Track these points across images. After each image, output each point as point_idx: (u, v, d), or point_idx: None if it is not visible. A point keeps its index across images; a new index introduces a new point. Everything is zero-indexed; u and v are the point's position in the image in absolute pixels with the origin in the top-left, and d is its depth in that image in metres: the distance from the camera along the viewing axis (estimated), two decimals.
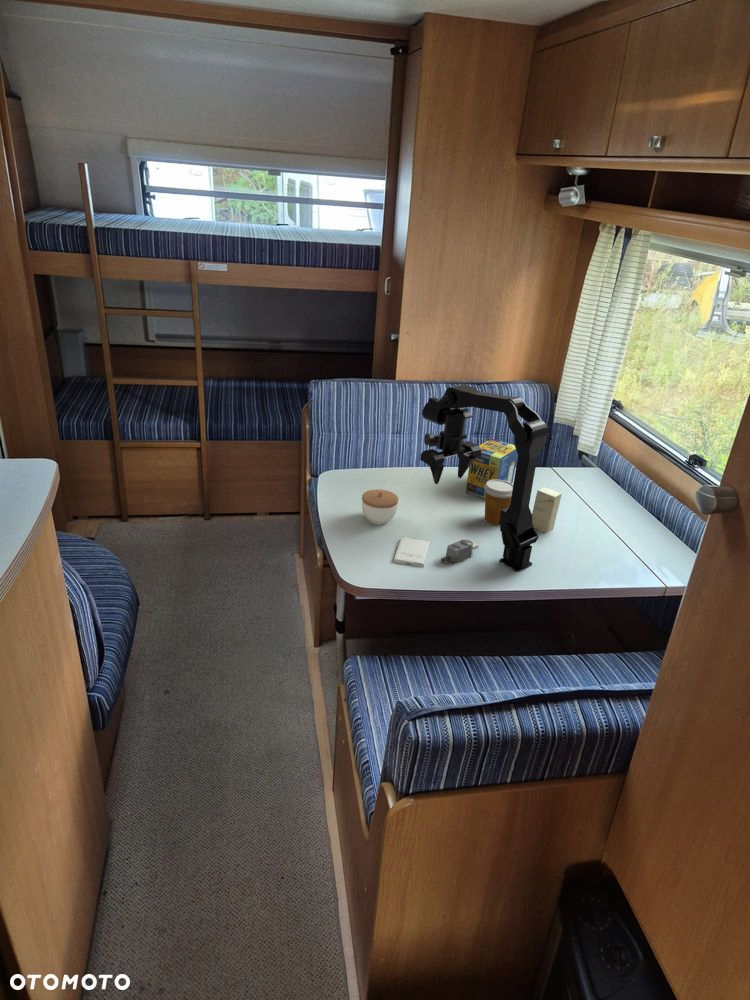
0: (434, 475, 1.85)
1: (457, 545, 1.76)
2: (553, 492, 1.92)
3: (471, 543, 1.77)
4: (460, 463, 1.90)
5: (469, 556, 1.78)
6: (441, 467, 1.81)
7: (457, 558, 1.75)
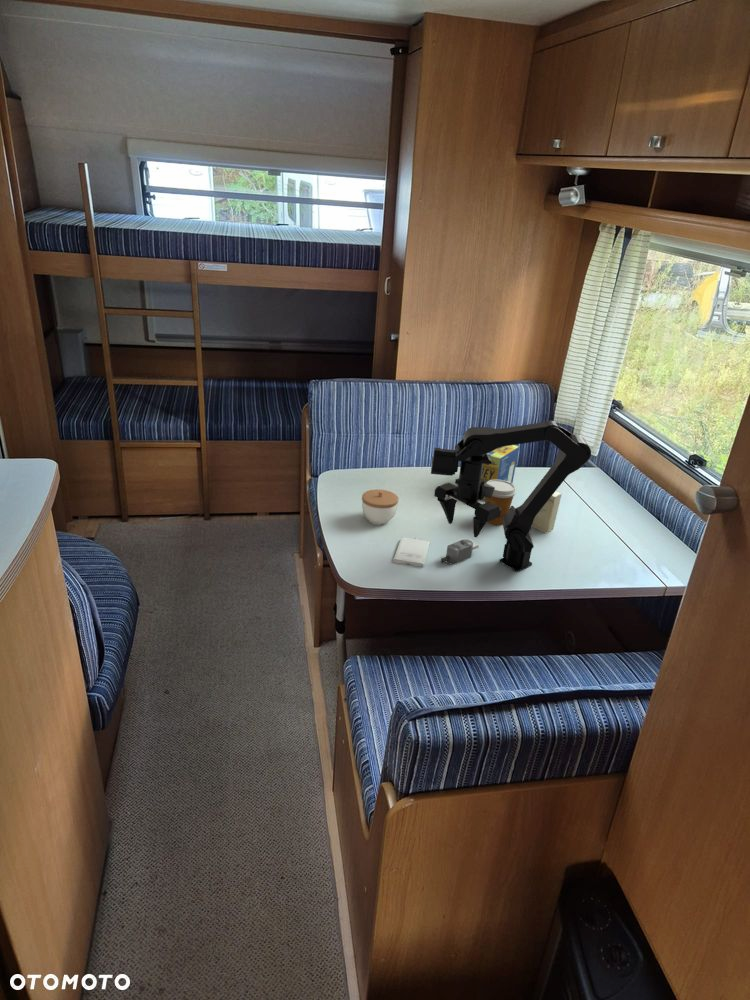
0: None
1: (457, 545, 1.76)
2: None
3: (471, 543, 1.77)
4: None
5: (469, 556, 1.78)
6: (441, 502, 1.74)
7: (457, 558, 1.75)
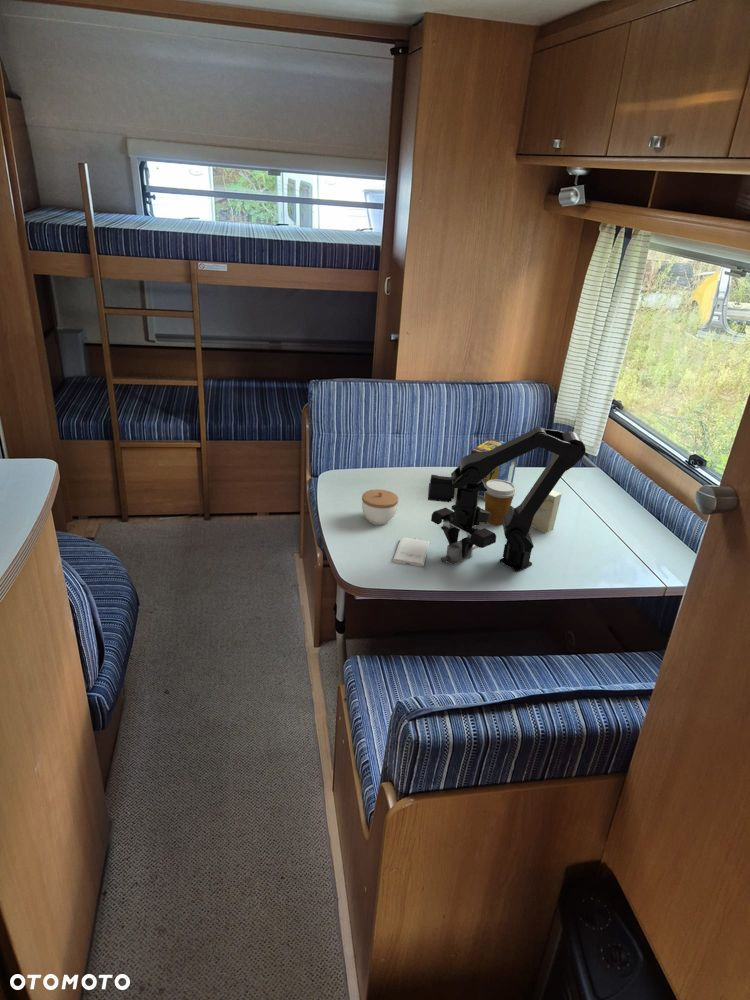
0: None
1: (457, 545, 1.76)
2: (553, 492, 1.92)
3: None
4: None
5: (469, 556, 1.78)
6: (445, 531, 1.75)
7: (457, 558, 1.75)
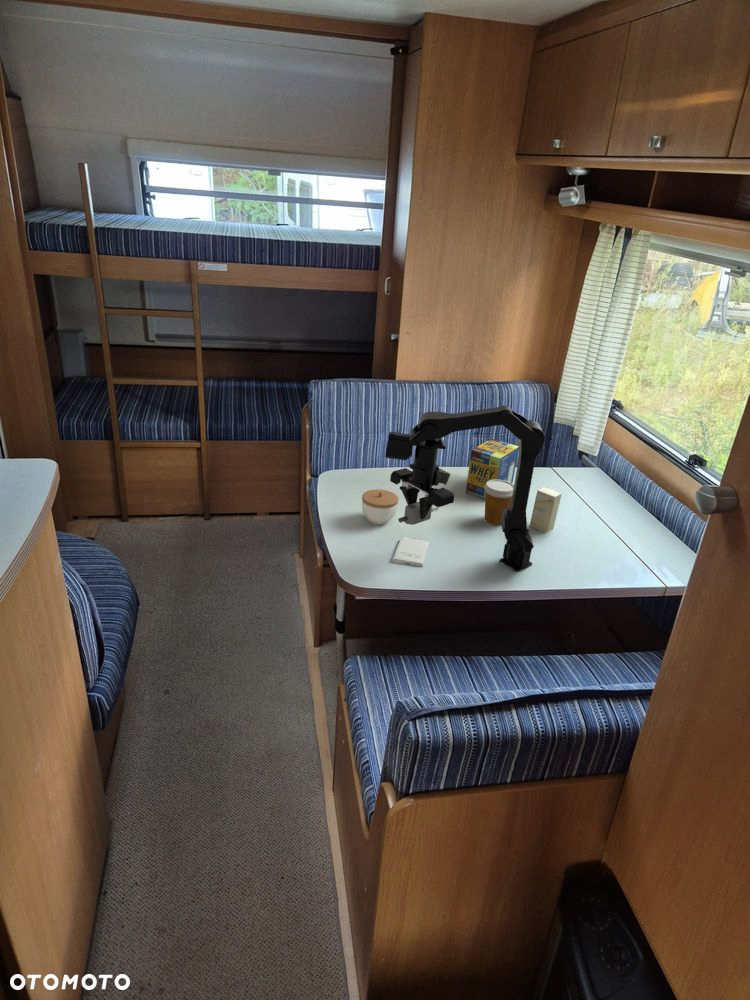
0: None
1: (416, 506, 1.72)
2: (553, 492, 1.92)
3: None
4: None
5: (427, 517, 1.74)
6: (403, 491, 1.71)
7: (415, 519, 1.71)
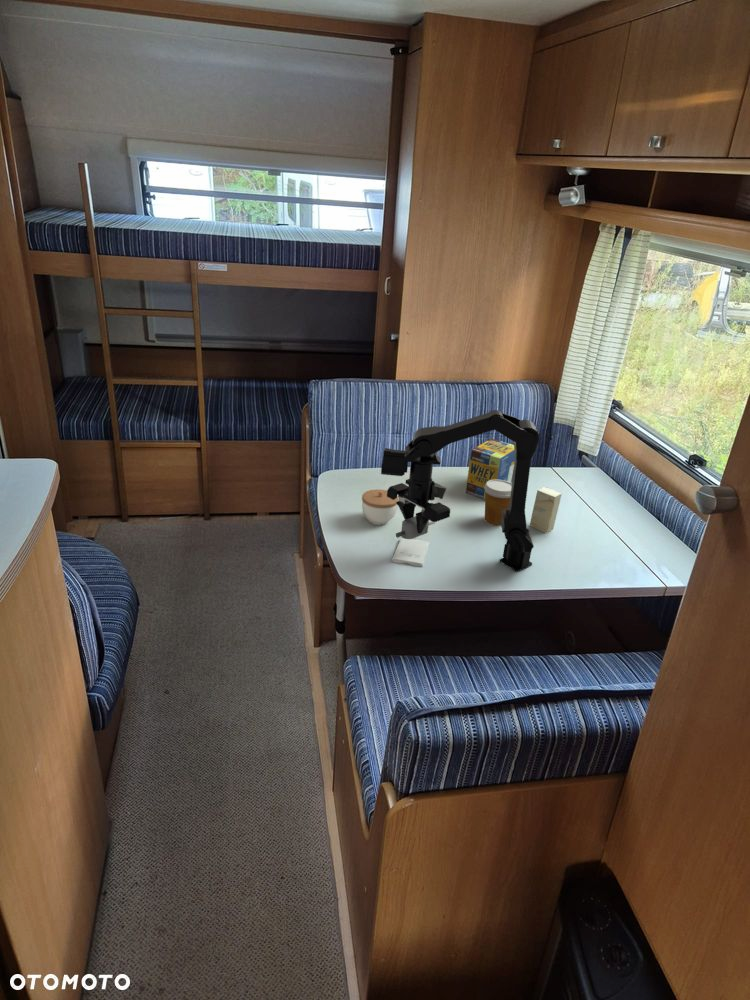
0: None
1: (413, 521, 1.74)
2: (553, 492, 1.92)
3: None
4: None
5: (425, 532, 1.76)
6: (400, 506, 1.73)
7: (413, 533, 1.72)
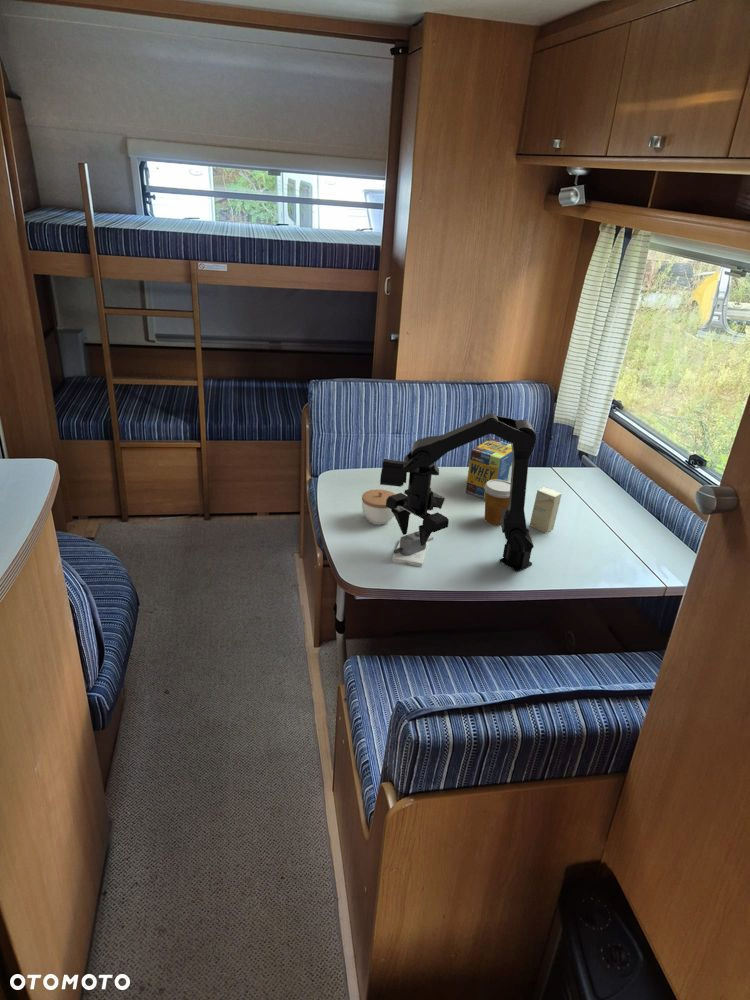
0: None
1: (411, 537, 1.76)
2: (553, 492, 1.92)
3: None
4: None
5: (423, 548, 1.78)
6: (395, 514, 1.75)
7: (410, 550, 1.75)
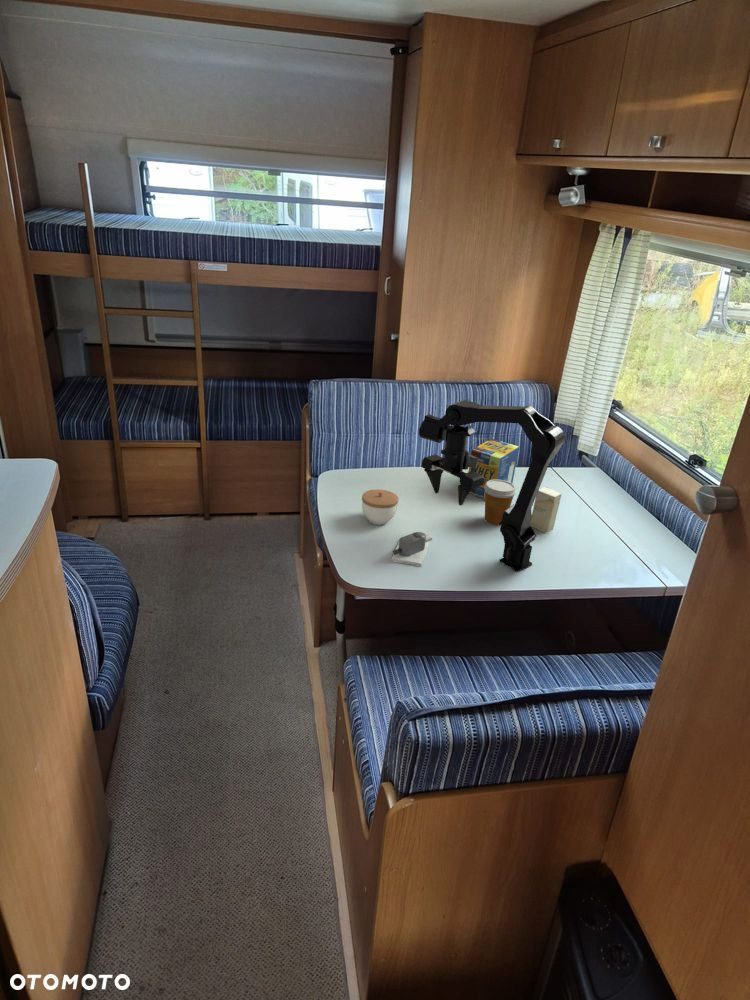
0: None
1: (410, 538, 1.76)
2: (553, 492, 1.92)
3: (424, 535, 1.77)
4: None
5: (421, 549, 1.78)
6: (428, 473, 1.83)
7: (409, 551, 1.75)
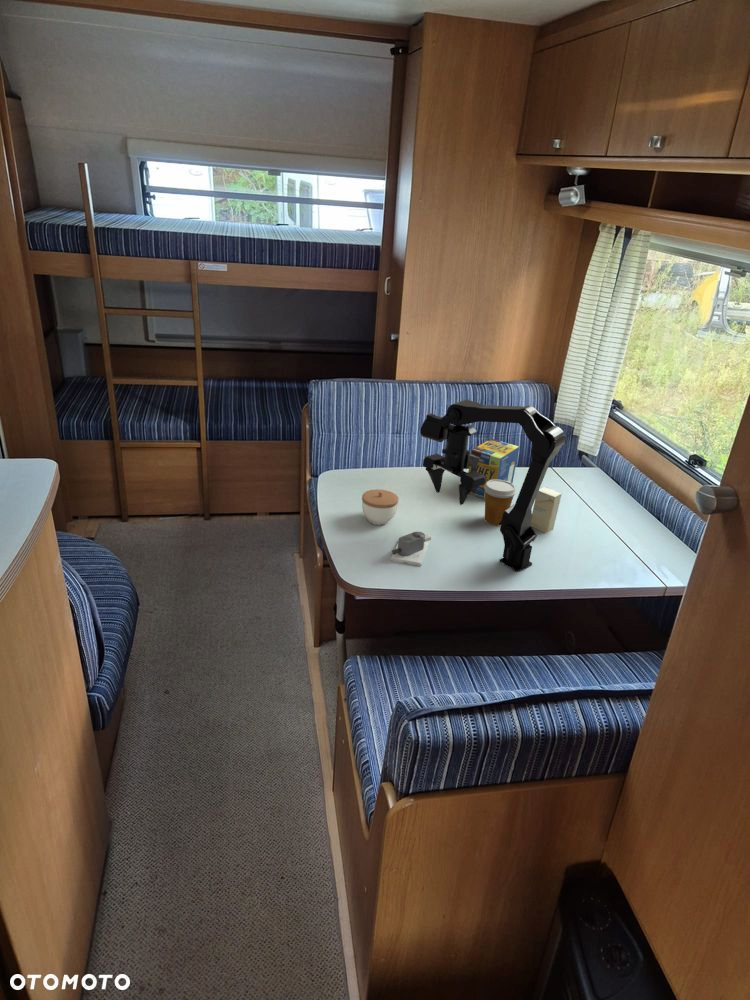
0: None
1: (409, 537, 1.76)
2: (553, 492, 1.92)
3: (423, 535, 1.77)
4: None
5: (421, 548, 1.78)
6: (429, 472, 1.83)
7: (409, 550, 1.75)
